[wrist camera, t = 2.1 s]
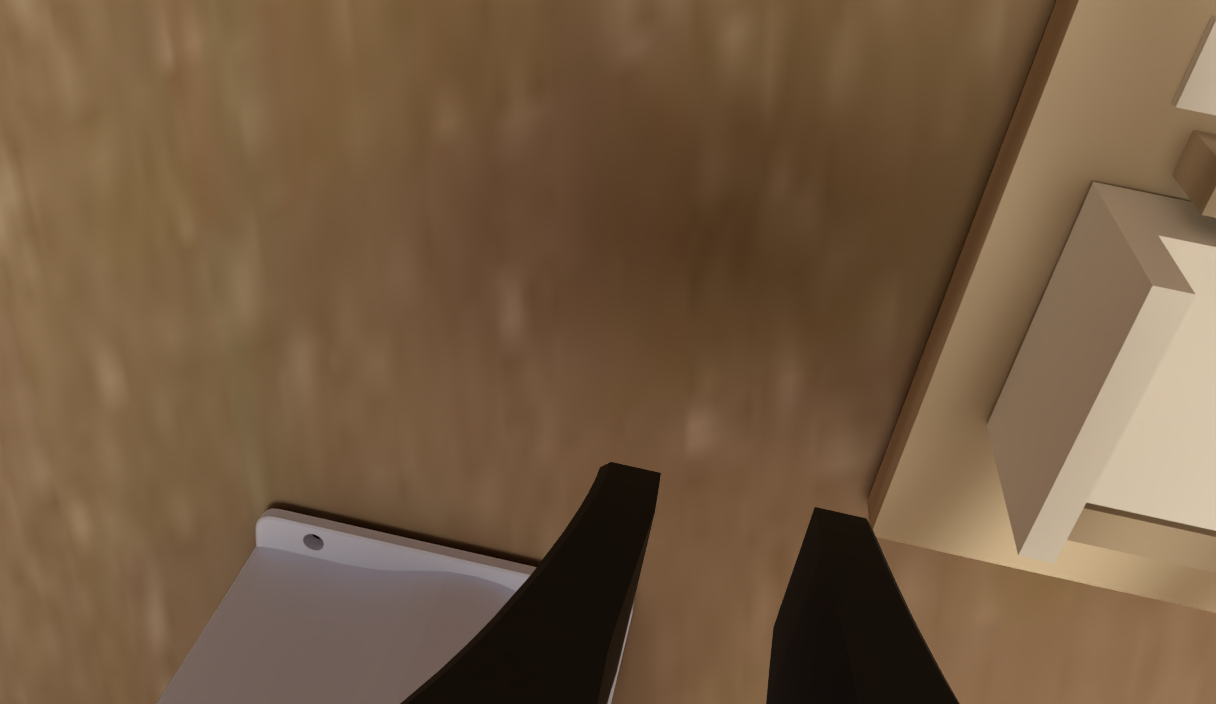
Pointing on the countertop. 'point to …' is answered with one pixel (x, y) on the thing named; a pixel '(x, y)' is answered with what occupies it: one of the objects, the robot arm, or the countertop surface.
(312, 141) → the countertop surface
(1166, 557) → the linear slide rail
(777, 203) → the countertop surface
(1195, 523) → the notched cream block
